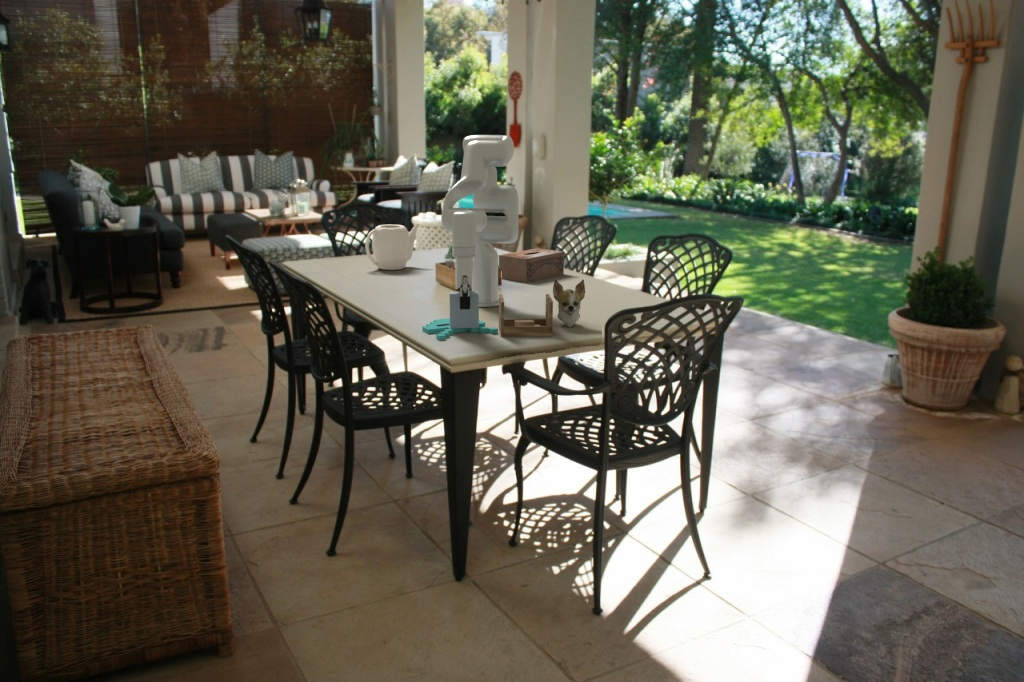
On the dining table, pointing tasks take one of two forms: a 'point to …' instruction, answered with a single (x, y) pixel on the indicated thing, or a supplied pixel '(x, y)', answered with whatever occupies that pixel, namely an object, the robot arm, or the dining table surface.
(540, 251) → the tissue box cover
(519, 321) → the offcut top
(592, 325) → the dining table surface
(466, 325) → the board
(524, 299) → the dining table surface
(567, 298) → the ceramic sculpture
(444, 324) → the alien figure
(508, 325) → the rack
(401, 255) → the white teapot
